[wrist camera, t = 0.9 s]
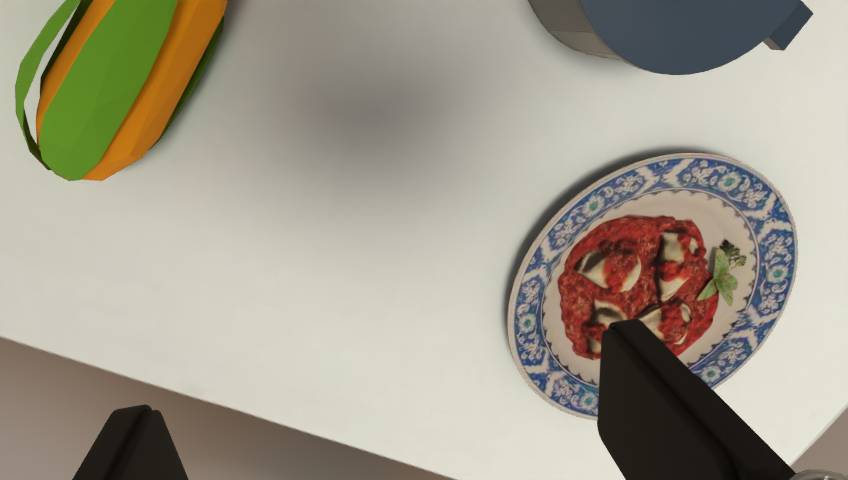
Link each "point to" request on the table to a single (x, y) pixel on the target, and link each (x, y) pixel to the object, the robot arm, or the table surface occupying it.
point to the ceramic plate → (654, 273)
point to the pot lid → (682, 30)
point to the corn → (114, 80)
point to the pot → (569, 27)
